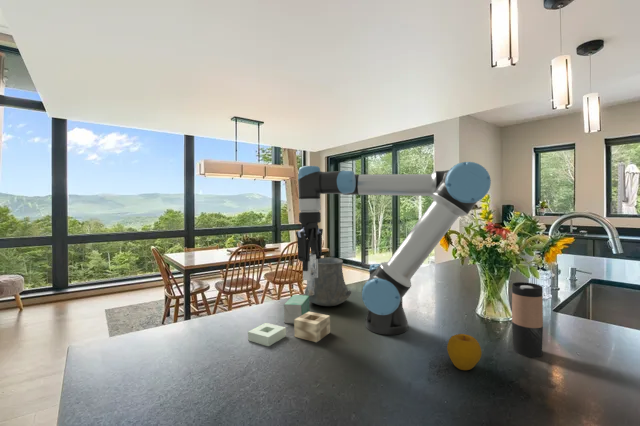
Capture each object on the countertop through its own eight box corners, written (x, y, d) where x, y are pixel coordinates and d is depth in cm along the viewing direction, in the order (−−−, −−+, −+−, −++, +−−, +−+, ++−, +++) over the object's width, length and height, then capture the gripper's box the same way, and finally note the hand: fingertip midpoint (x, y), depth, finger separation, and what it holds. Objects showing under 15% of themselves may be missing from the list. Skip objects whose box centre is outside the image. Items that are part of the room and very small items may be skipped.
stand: (285, 336, 107) (285, 327, 107) (268, 346, 99) (268, 337, 99) (266, 330, 111) (266, 322, 111) (248, 340, 104) (248, 331, 104)
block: (330, 332, 109) (329, 315, 109) (316, 342, 101) (316, 324, 101) (309, 327, 114) (308, 311, 113) (294, 336, 106) (294, 319, 106)
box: (310, 311, 131) (309, 294, 130) (302, 324, 117) (301, 304, 117) (293, 311, 132) (292, 294, 132) (284, 323, 119) (283, 304, 118)
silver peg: (318, 293, 108) (318, 254, 107) (312, 296, 104) (311, 255, 104) (309, 292, 110) (308, 253, 109) (302, 295, 106) (302, 254, 106)
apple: (480, 380, 78) (480, 345, 78) (444, 371, 82) (444, 338, 82) (483, 364, 85) (482, 333, 85) (450, 357, 90) (449, 327, 89)
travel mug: (537, 347, 94) (537, 283, 94) (547, 359, 87) (546, 289, 87) (509, 344, 97) (509, 281, 96) (516, 355, 90) (515, 287, 89)
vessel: (338, 315, 126) (337, 266, 125) (295, 306, 138) (294, 262, 137) (360, 300, 144) (360, 258, 144) (320, 294, 156) (320, 254, 155)
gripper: (313, 210, 115) (314, 272, 116) (285, 212, 101) (287, 282, 102) (331, 210, 112) (332, 274, 112) (304, 212, 97) (305, 285, 98)
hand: (310, 278), depth 107 cm, fingers closed on silver peg, 4 cm apart
